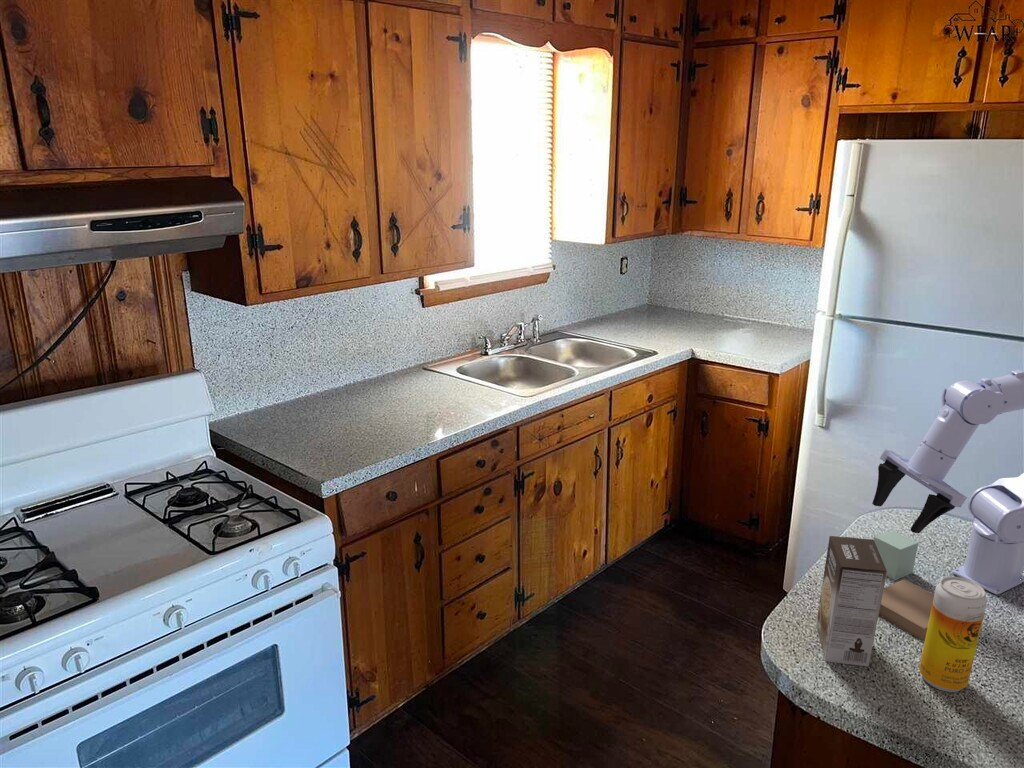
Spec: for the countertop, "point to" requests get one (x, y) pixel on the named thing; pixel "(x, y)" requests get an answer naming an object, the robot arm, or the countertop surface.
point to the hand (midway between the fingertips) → (895, 518)
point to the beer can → (952, 633)
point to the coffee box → (850, 600)
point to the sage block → (896, 553)
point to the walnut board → (907, 607)
